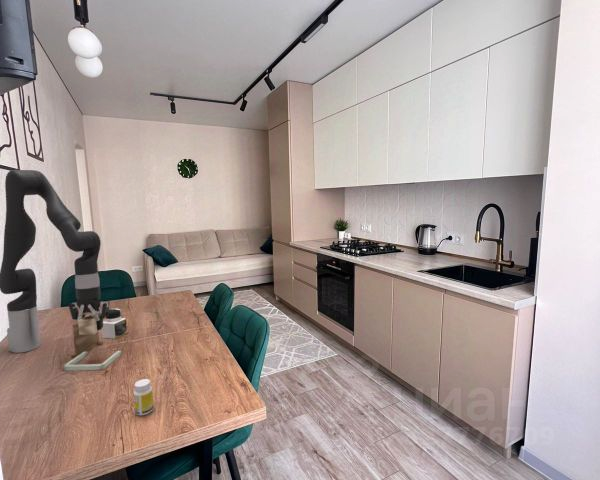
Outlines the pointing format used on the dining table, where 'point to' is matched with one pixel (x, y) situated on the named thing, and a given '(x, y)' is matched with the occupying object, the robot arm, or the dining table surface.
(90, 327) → the letter cube
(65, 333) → the dining table surface
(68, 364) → the bay
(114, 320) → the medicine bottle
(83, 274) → the robot arm
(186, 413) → the dining table surface
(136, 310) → the dining table surface
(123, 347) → the dining table surface
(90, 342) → the screen
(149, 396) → the supplement bottle
